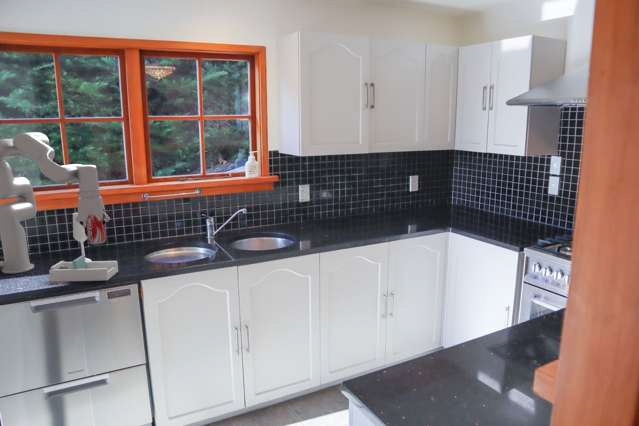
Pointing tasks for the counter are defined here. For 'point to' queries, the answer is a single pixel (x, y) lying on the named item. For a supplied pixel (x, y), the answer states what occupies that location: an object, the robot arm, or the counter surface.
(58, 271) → the light grey tray
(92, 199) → the robot arm
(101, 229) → the soda can
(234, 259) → the counter surface
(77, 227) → the champagne flute
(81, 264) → the pusher plate
